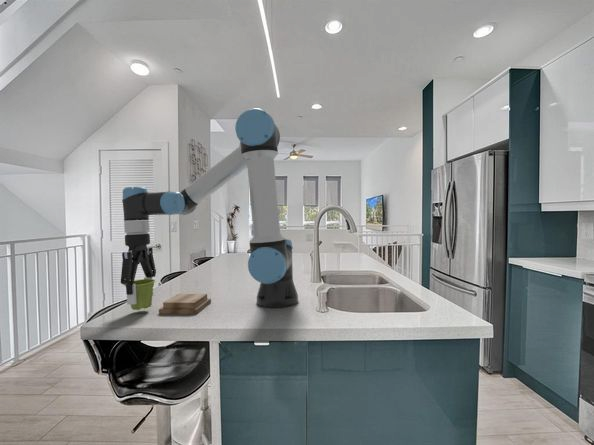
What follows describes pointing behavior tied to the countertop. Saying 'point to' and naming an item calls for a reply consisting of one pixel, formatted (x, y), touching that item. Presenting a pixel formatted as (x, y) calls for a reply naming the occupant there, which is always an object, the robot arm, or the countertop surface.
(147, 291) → the plant pot
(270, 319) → the countertop surface
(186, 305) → the walnut stand
